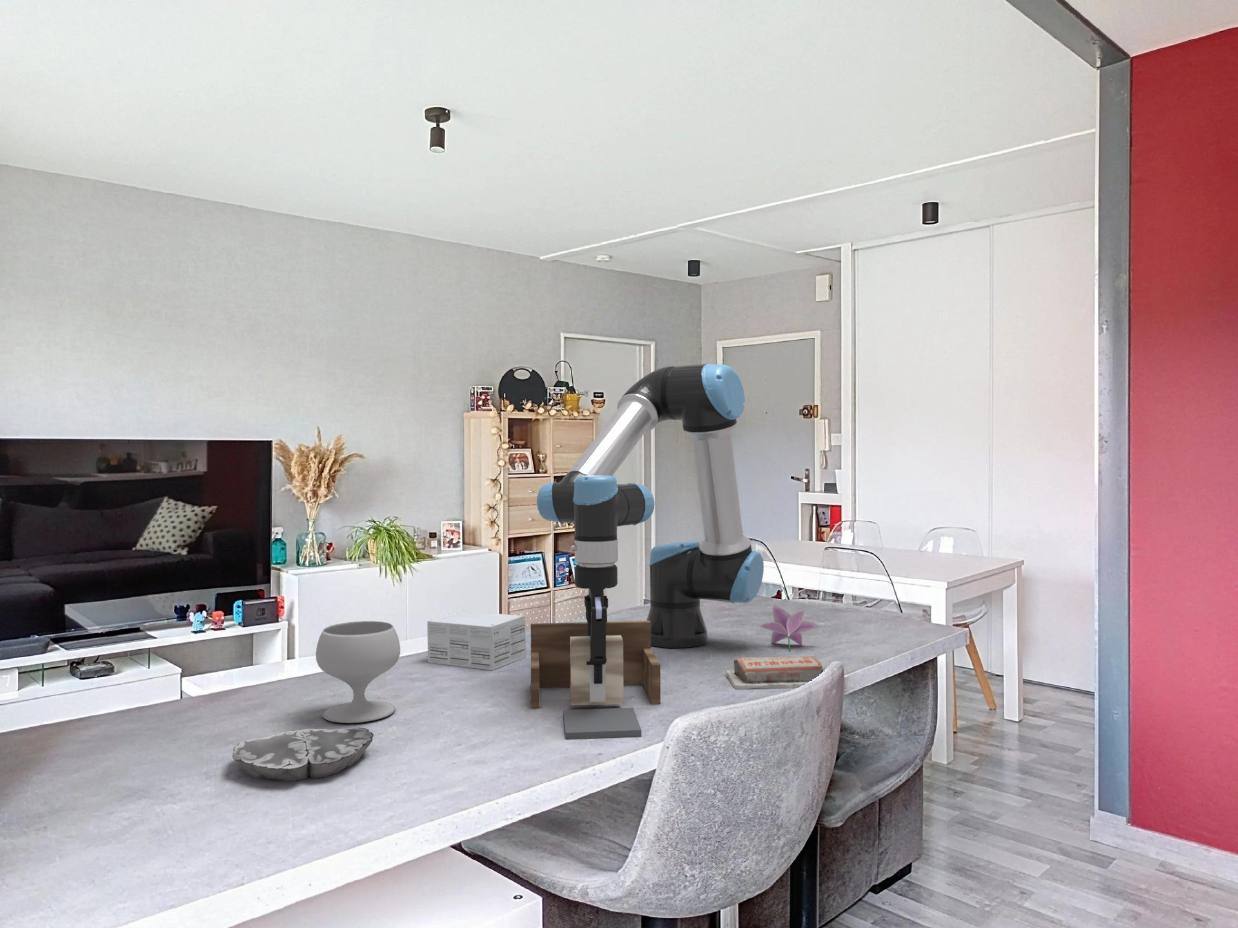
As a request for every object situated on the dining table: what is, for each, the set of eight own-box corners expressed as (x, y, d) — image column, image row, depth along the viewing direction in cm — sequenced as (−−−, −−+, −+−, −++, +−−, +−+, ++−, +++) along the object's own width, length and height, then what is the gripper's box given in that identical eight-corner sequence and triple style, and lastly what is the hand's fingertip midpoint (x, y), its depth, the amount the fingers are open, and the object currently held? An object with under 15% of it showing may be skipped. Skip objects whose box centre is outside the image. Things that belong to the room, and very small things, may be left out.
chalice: (324, 731, 144) (322, 639, 144) (310, 709, 157) (309, 624, 156) (409, 719, 151) (408, 631, 150) (390, 698, 163) (389, 616, 163)
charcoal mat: (563, 715, 152) (563, 709, 152) (632, 713, 153) (632, 707, 153) (565, 738, 140) (565, 732, 140) (641, 736, 141) (641, 729, 141)
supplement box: (527, 657, 194) (526, 615, 194) (492, 671, 182) (492, 626, 182) (463, 650, 202) (463, 608, 201) (426, 663, 190) (426, 619, 189)
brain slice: (232, 799, 118) (232, 777, 118) (232, 757, 133) (232, 738, 133) (384, 776, 126) (384, 755, 125) (367, 739, 141) (367, 720, 141)
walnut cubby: (531, 685, 171) (530, 623, 171) (649, 681, 173) (649, 620, 173) (530, 708, 156) (530, 640, 156) (660, 703, 159) (660, 636, 158)
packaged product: (813, 651, 179) (828, 664, 169) (813, 675, 179) (828, 689, 169) (725, 653, 177) (735, 666, 167) (725, 677, 177) (735, 691, 168)
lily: (827, 653, 200) (821, 612, 204) (803, 641, 191) (798, 599, 196) (779, 663, 206) (774, 623, 211) (754, 652, 198) (750, 611, 202)
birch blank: (570, 698, 157) (570, 636, 157) (621, 696, 158) (620, 635, 158) (571, 705, 153) (571, 641, 153) (623, 703, 154) (623, 640, 154)
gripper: (572, 557, 163) (573, 684, 164) (576, 571, 146) (577, 712, 147) (613, 557, 164) (613, 683, 164) (622, 570, 147) (622, 711, 147)
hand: (596, 696), depth 156 cm, fingers closed on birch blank, 4 cm apart
